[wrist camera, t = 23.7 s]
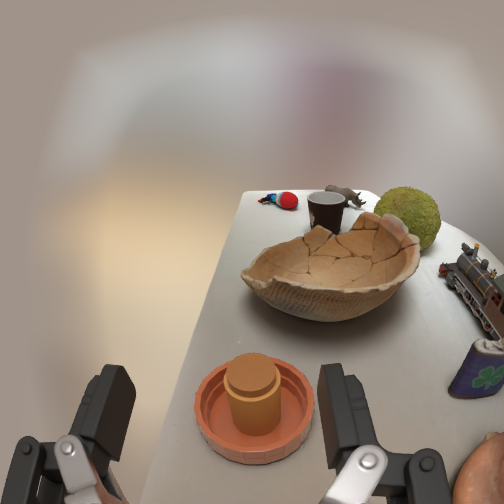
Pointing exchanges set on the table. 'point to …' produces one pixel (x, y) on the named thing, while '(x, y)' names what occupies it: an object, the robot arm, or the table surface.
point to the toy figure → (282, 199)
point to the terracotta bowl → (255, 447)
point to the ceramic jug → (482, 474)
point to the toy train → (478, 289)
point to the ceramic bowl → (336, 269)
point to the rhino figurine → (346, 195)
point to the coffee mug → (326, 210)
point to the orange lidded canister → (254, 393)
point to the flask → (480, 371)
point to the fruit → (412, 212)
